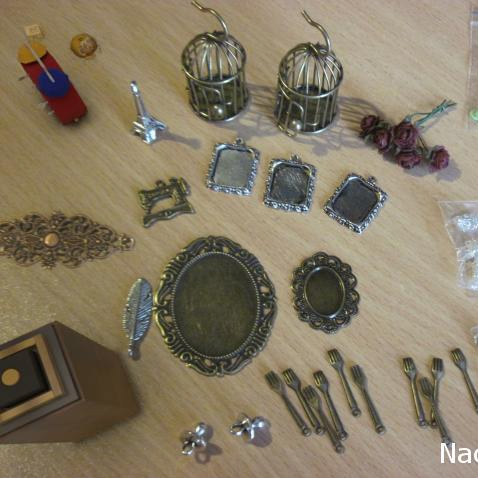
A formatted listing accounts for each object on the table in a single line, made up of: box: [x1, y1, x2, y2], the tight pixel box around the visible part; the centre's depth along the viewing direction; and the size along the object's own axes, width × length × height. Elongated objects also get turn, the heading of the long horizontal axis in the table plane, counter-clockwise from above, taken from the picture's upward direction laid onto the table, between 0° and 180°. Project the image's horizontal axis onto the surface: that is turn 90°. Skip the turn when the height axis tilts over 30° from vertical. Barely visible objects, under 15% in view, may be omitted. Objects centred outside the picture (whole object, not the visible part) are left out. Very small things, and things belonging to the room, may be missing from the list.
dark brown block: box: [0, 349, 49, 408], centre depth 71 cm, size 5×5×4 cm
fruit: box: [70, 32, 103, 67], centre depth 129 cm, size 8×8×4 cm
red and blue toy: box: [17, 39, 89, 126], centre depth 115 cm, size 15×9×20 cm, turn 38°
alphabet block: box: [23, 23, 45, 42], centre depth 129 cm, size 3×3×3 cm
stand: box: [0, 319, 141, 446], centre depth 88 cm, size 12×12×36 cm
